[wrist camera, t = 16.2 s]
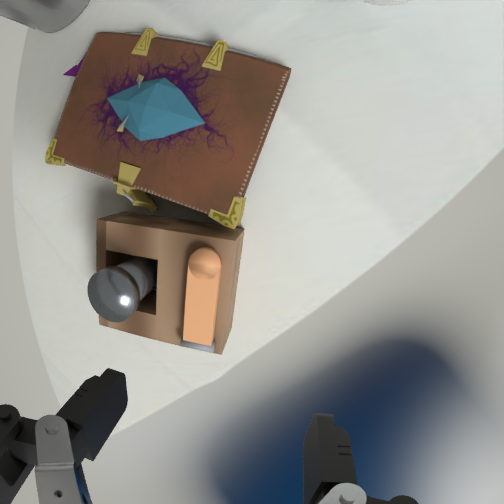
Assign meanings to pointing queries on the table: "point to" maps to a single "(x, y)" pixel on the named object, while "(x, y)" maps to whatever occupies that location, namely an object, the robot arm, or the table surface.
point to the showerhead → (386, 2)
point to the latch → (201, 299)
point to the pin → (122, 287)
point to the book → (170, 119)
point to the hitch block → (170, 270)
